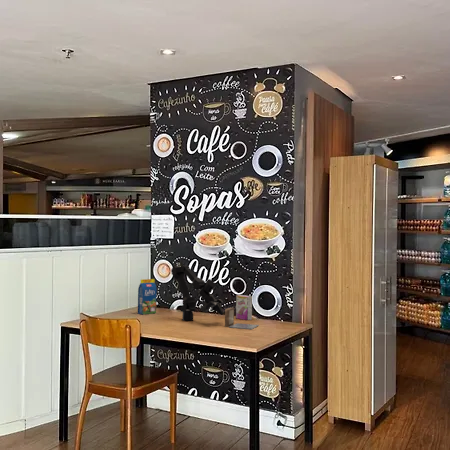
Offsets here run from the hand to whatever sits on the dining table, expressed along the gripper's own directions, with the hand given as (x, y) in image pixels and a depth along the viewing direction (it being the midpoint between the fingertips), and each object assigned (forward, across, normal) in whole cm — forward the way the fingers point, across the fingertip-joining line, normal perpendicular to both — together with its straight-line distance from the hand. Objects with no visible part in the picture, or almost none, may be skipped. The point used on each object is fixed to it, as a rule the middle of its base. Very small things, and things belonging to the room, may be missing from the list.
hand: (222, 314), depth 370 cm
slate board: (+15, 0, +6) cm, 16 cm away
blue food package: (-43, -23, -53) cm, 72 cm away
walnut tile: (+8, 0, -2) cm, 8 cm away
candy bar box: (+8, -32, -2) cm, 33 cm away
